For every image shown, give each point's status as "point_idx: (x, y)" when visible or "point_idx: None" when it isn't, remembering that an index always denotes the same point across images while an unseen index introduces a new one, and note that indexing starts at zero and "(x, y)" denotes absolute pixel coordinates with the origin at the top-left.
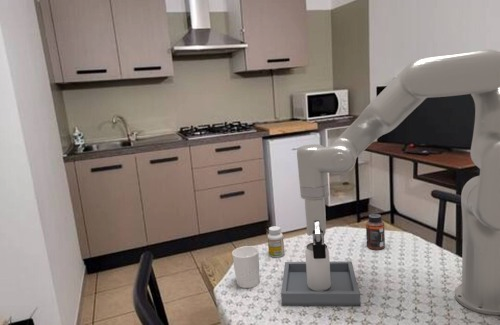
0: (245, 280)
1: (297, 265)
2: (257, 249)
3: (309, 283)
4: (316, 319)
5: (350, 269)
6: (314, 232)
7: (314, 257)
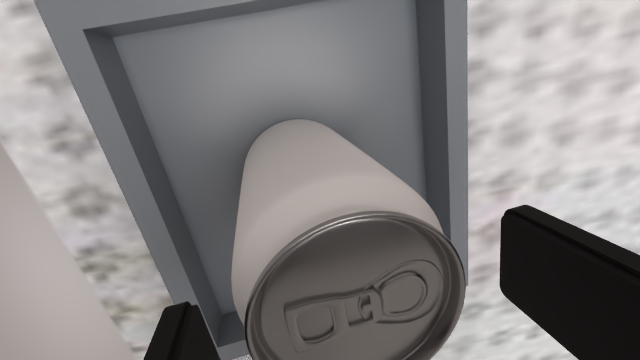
0: None
1: (438, 32)
2: None
3: (256, 144)
4: (50, 207)
5: None
6: (632, 304)
7: (166, 317)
